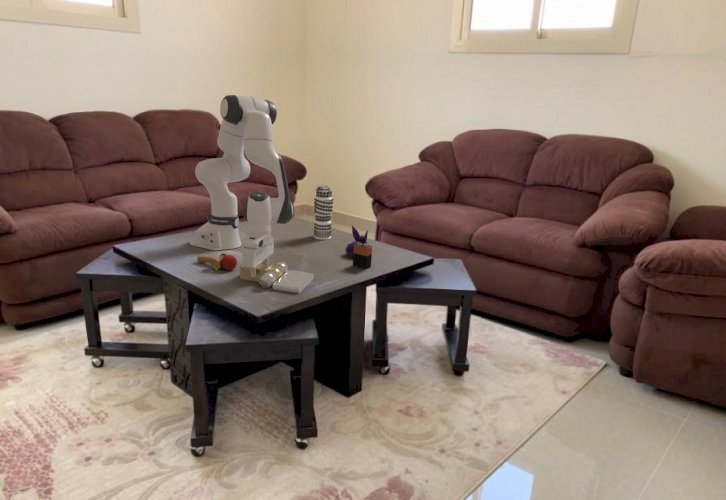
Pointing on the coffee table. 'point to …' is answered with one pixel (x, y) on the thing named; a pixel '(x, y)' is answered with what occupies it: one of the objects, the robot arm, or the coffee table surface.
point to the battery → (362, 255)
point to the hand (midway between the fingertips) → (259, 272)
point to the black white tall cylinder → (323, 212)
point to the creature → (356, 241)
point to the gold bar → (260, 271)
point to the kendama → (219, 261)
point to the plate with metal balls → (286, 279)
